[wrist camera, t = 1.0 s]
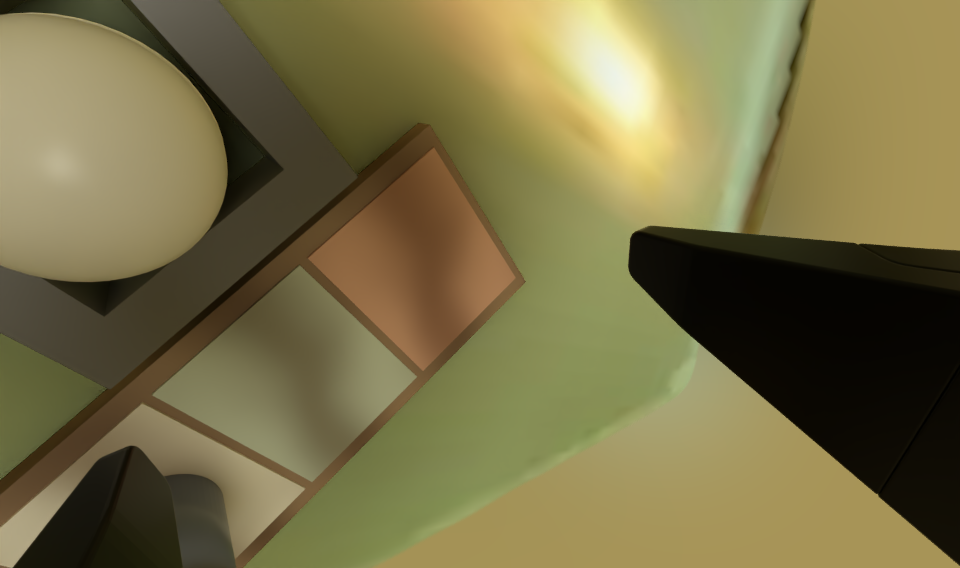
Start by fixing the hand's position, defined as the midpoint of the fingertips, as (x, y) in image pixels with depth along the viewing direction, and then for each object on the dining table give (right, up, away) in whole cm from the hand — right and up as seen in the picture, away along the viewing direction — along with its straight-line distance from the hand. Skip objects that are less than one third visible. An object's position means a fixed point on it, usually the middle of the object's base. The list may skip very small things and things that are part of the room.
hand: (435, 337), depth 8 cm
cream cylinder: (-10, +5, +5) cm, 12 cm away
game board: (-7, -3, +12) cm, 15 cm away
